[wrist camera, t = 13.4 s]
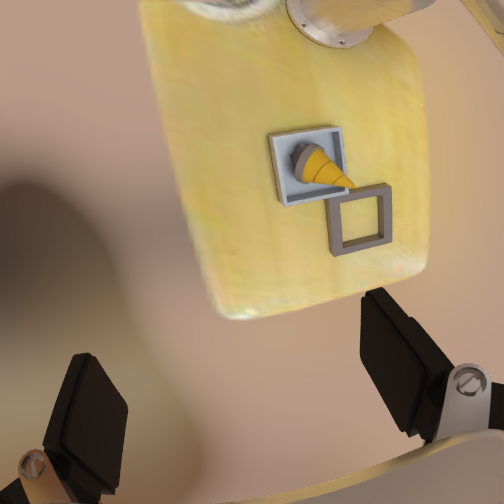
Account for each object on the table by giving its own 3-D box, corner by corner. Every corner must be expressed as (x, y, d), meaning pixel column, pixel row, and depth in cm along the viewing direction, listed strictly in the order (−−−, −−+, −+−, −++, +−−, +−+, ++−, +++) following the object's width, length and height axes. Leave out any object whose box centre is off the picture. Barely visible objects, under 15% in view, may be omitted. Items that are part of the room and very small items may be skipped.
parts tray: (267, 135, 39) (272, 137, 36) (332, 125, 40) (341, 126, 37) (278, 200, 43) (284, 207, 40) (340, 188, 43) (349, 193, 41)
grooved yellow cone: (302, 129, 39) (371, 161, 35) (298, 162, 43) (360, 195, 39) (278, 143, 36) (351, 179, 32) (274, 178, 41) (341, 215, 37)
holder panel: (324, 194, 44) (328, 198, 42) (385, 183, 44) (391, 186, 42) (329, 251, 48) (334, 256, 46) (386, 237, 48) (392, 242, 46)
